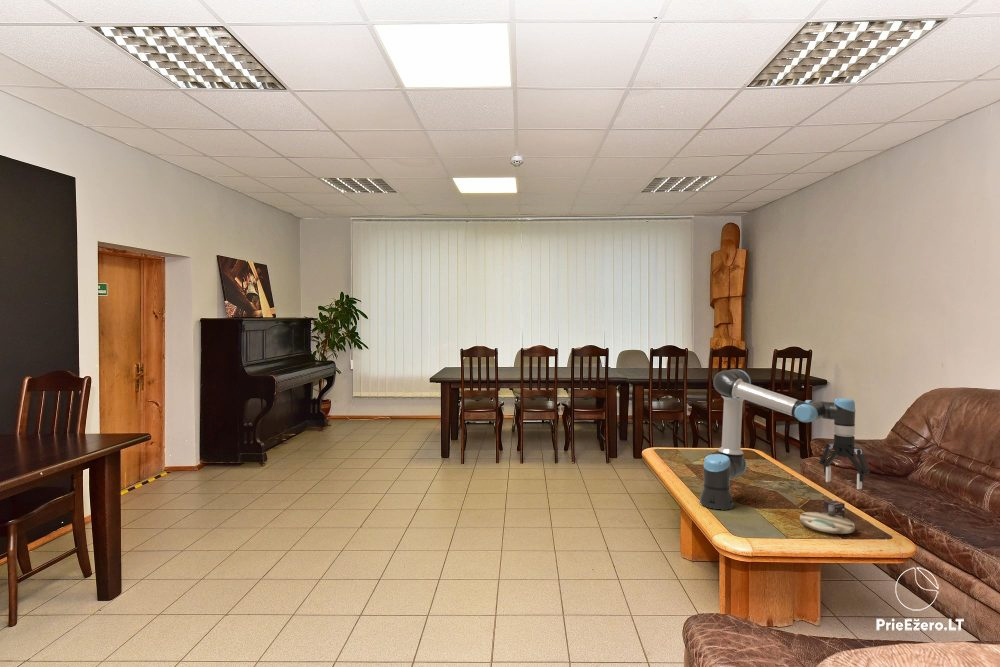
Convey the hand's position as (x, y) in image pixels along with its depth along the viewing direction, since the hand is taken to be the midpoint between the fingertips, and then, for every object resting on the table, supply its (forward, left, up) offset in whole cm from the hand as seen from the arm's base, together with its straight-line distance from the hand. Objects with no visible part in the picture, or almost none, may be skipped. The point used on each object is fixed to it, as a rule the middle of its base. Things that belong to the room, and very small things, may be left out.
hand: (843, 485), depth 232 cm
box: (+4, +11, -19) cm, 22 cm away
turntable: (-8, 0, -17) cm, 18 cm away
